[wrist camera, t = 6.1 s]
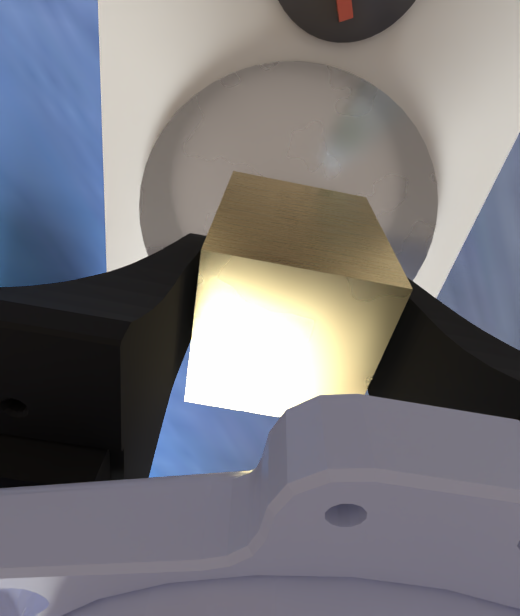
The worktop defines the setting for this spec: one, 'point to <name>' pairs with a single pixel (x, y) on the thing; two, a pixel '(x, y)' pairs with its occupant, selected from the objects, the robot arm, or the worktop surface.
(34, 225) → the worktop surface
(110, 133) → the scale
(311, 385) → the block
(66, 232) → the worktop surface
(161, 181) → the scale pan
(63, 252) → the worktop surface
